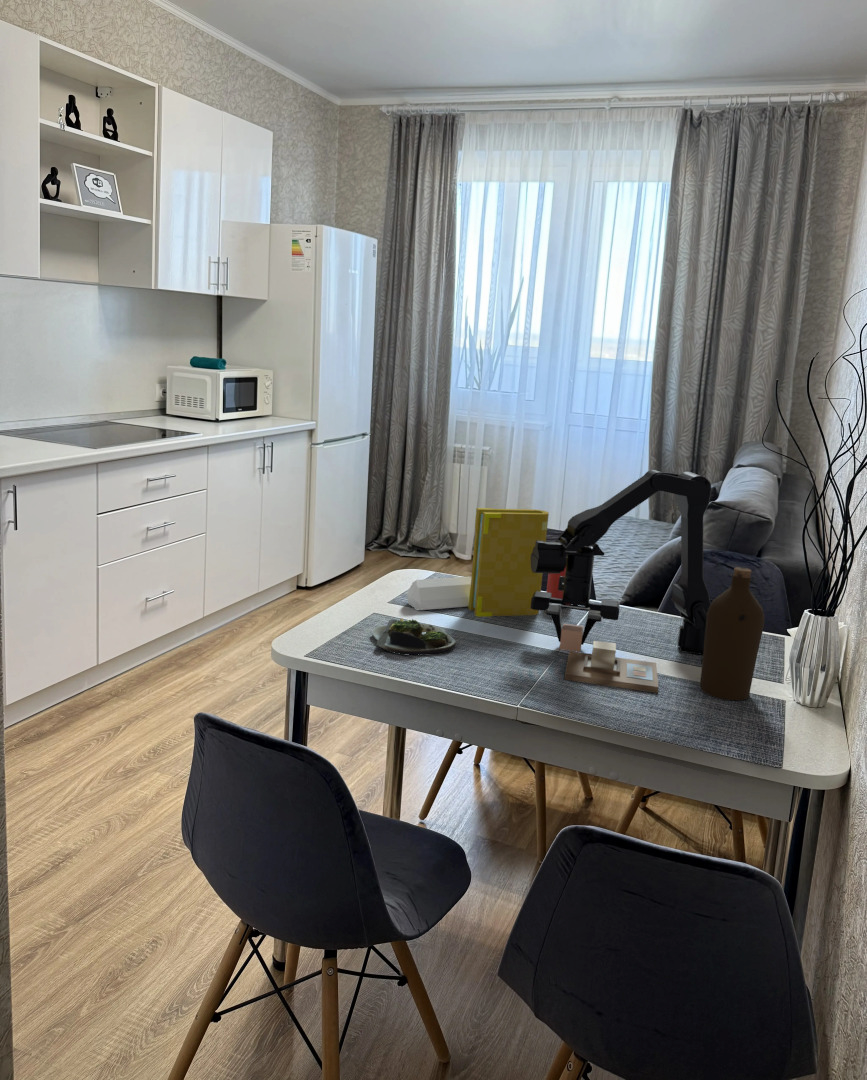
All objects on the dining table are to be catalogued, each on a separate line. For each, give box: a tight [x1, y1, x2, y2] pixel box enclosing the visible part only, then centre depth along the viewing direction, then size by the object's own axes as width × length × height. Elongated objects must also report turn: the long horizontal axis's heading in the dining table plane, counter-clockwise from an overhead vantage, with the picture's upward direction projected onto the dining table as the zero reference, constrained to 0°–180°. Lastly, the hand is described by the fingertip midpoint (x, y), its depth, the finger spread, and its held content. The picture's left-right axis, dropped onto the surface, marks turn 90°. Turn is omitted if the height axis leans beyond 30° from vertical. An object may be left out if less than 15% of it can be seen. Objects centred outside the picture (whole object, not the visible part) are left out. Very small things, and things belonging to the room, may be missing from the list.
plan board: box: [563, 651, 659, 694], centre depth 180 cm, size 18×14×2 cm
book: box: [467, 507, 550, 618], centre depth 214 cm, size 17×7×25 cm, turn 106°
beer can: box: [546, 567, 572, 605], centre depth 225 cm, size 7×7×12 cm
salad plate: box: [371, 618, 457, 656], centre depth 192 cm, size 19×18×5 cm
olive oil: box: [699, 566, 765, 701], centre depth 173 cm, size 11×11×25 cm
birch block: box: [591, 640, 617, 670], centre depth 180 cm, size 4×4×4 cm
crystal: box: [406, 575, 472, 611], centre depth 219 cm, size 7×7×24 cm
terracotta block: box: [559, 623, 585, 652], centre depth 194 cm, size 4×4×4 cm
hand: (571, 642), depth 195 cm, fingers closed on terracotta block, 4 cm apart
